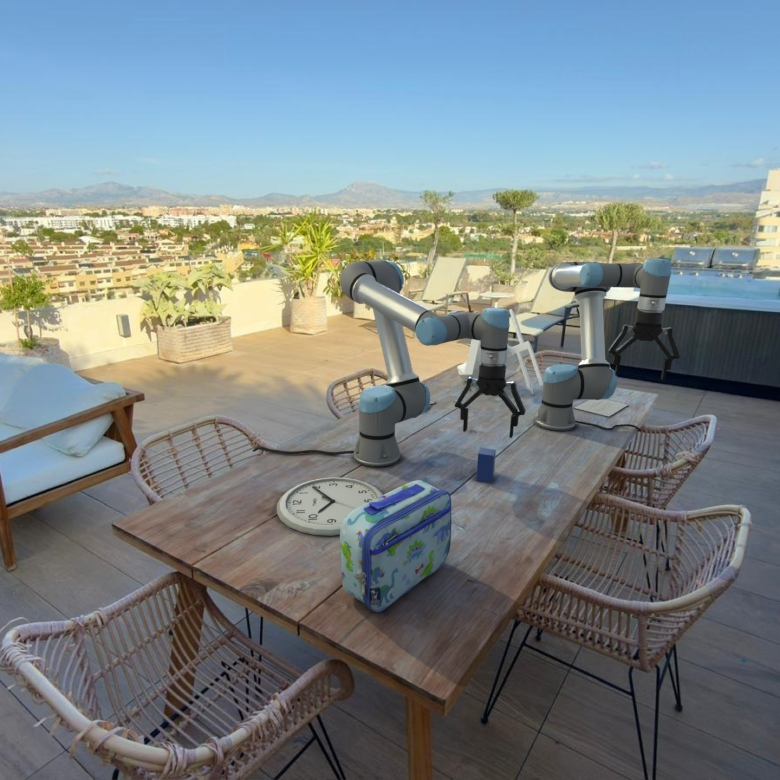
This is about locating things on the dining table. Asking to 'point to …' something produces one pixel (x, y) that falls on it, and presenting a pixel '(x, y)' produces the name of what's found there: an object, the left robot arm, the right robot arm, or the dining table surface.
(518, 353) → the white plastic object
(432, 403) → the fork
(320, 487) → the wall clock
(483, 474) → the block
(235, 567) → the dining table surface
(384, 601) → the lunch box
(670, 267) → the right robot arm
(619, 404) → the invitation card
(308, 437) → the dining table surface
